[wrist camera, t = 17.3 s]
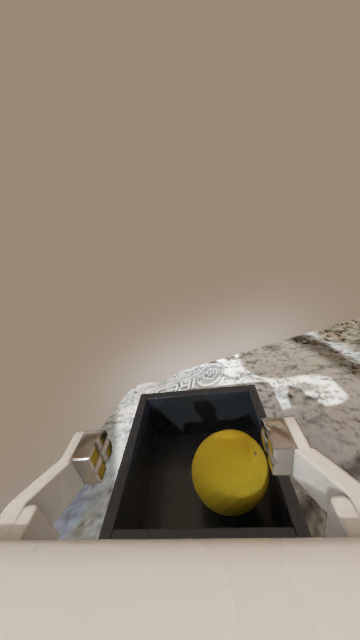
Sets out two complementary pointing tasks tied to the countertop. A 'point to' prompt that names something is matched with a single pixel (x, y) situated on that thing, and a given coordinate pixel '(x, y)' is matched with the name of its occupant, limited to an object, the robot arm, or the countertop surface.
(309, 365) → the countertop surface
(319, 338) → the countertop surface
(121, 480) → the dark gray open box
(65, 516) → the countertop surface
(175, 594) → the robot arm
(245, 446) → the lemon
